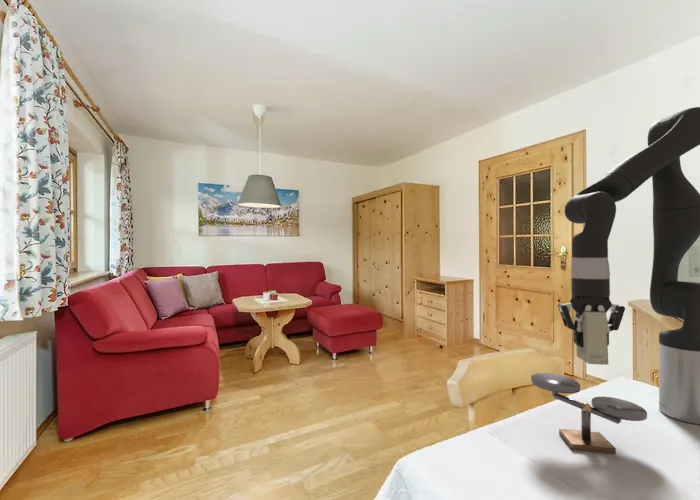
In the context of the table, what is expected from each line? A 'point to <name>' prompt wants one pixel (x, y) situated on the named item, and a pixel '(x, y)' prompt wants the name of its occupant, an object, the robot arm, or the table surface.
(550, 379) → the balance
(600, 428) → the table surface
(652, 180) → the robot arm
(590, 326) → the skincare box
